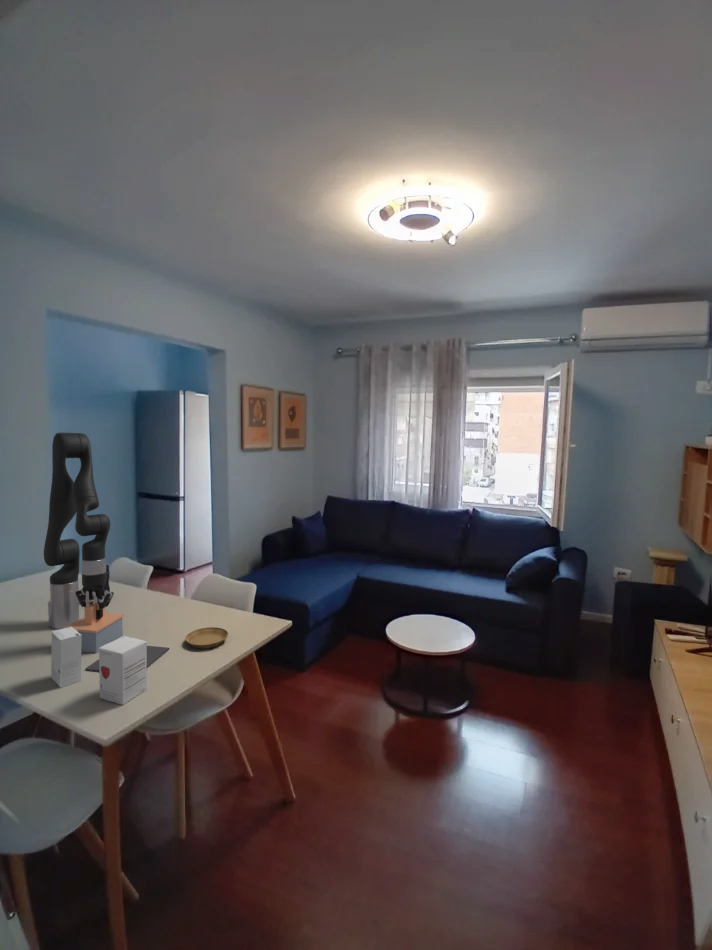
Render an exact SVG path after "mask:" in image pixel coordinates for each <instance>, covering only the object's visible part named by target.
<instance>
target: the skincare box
mask: <svg viewBox="0 0 712 950" xmlns="http://www.w3.org/2000/svg"><path fill="white" fill-rule="evenodd" d="M50 657H51V660H50V661H51V664H50V665H51V667H50V668H51V669H50V670H51V671H50V673H51V674H50V677H51V678H50V679H52V680H53V681H54V682H55V683H56V684H57V686H58V687H59V688H63V687H67V686H69V685H72V683H73V684H75V682H76V683H78V682H77V681H79V682H81V681H82V652H81V634H80V633H78V632H77V630H75V629H74V628H73V627H68V628H64V629H55V630H52V631H51V656H50Z"/></svg>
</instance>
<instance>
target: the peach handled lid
mask: <svg viewBox="0 0 712 950" xmlns="http://www.w3.org/2000/svg"><path fill="white" fill-rule="evenodd" d="M83 608H84V616H83V617H82V618H79V620H78V621H76V622H74V623H72V624H70V625H68V626H67V627H65V628H68V627H73V628H74V629H75V630H77V632H88V633H97V632H99V631H100V630H102V629H104V628H105V627H107V626H109V625H110V624H112V623H114V622H115V621H117V620H119V619H120V618H122V619H123V618H124V617H125V614H124V613H116V612H106V607H105V608H103V617H102V618H101V619H99V620H96V610H97V609H96V604H95V603H93V604H91V605H89V606H87V607H83Z"/></svg>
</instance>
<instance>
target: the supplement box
mask: <svg viewBox="0 0 712 950" xmlns="http://www.w3.org/2000/svg"><path fill="white" fill-rule="evenodd" d="M147 642H148V641H146V640H142V639H140V638H137V637H129V636H126V635H123V636H121V637H120V638H118V639H117V640H114V641H112V642H110V643H108V644H106V645H104V646H102V647H100V648H99V652H98V655H99V656H98V659H99V699H102V700H105V701H108V702H112V703H114V702H115V704H118V705H120V706H121V705H122V706H124V705H125V703H126V704H127V703H128V701H129V702H131V699H132V700H133V699H134V697H135V698H136V697H137V695H138V696H139V695H141V694H142V693H144V692H145V691H147V690H148V685H147V684H148V681H147V679H148V675H147V674H148V673H147V672H148V668H147V646H148V644H147ZM123 704H124V705H123Z"/></svg>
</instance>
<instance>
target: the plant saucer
mask: <svg viewBox="0 0 712 950" xmlns="http://www.w3.org/2000/svg"><path fill="white" fill-rule="evenodd" d="M228 636H229V632H228V630H227V629H225V628H222V627H217V626H210V627H209V626H208V627H202V628H198V629H194V630H192V631H191V632H188V634H186V636H185V638H184V639H185V641H186V642H187V644H189V645H190V646H191V647H192V648H196V649H199V648H201V649H204V648H206V649H211V647H212V648H215V647H217V646H219V645H221V644H222V643H223V642H224V641H225V640H226V639H227V638H228ZM201 649H200V650H201ZM204 650H205V649H204Z"/></svg>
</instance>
